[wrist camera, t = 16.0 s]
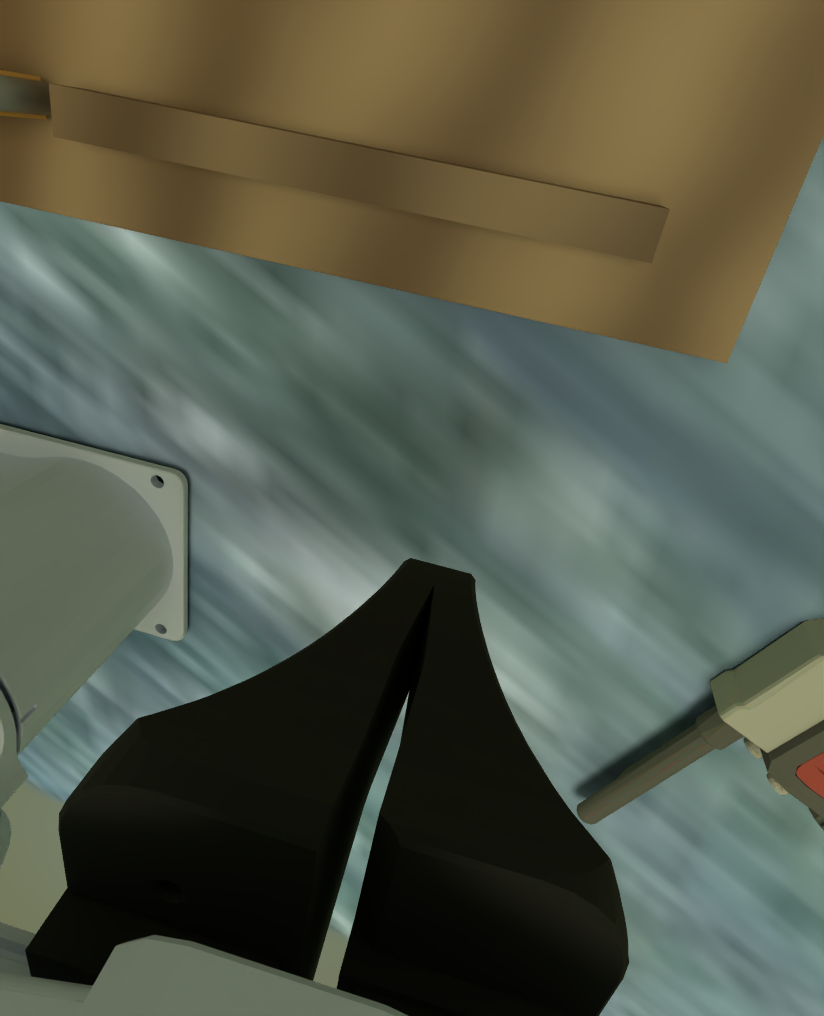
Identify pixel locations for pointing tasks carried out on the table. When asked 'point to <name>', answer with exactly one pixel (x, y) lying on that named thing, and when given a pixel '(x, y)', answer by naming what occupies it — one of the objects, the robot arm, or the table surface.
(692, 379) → the table surface
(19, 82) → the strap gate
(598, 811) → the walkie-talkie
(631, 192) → the cradle
